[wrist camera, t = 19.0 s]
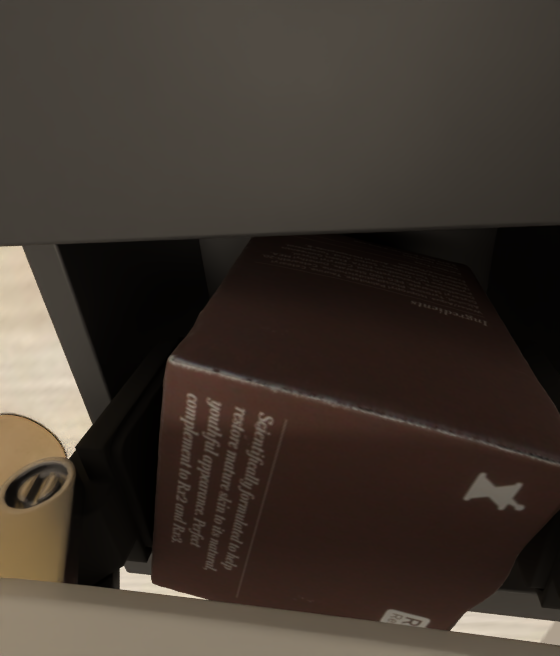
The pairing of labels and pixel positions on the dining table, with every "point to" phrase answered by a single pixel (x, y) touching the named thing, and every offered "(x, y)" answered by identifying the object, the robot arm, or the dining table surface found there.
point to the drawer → (207, 275)
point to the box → (350, 438)
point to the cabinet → (275, 118)
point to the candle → (23, 444)
